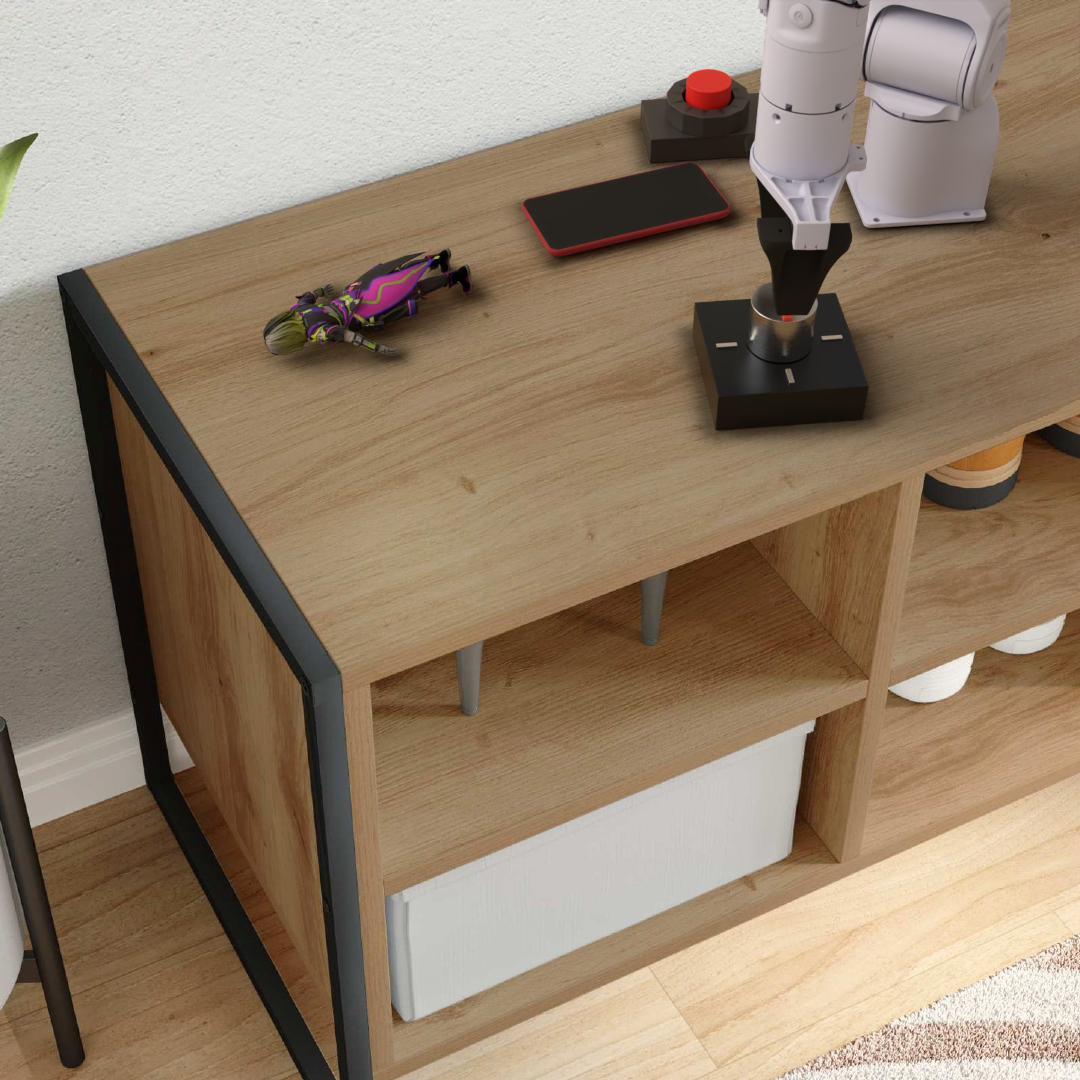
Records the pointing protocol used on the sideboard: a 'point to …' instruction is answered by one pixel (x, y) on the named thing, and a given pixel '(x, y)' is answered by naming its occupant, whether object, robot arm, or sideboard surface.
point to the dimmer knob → (778, 329)
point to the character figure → (363, 305)
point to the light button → (708, 89)
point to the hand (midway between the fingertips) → (785, 275)
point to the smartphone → (624, 208)
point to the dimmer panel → (777, 370)
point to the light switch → (697, 126)
